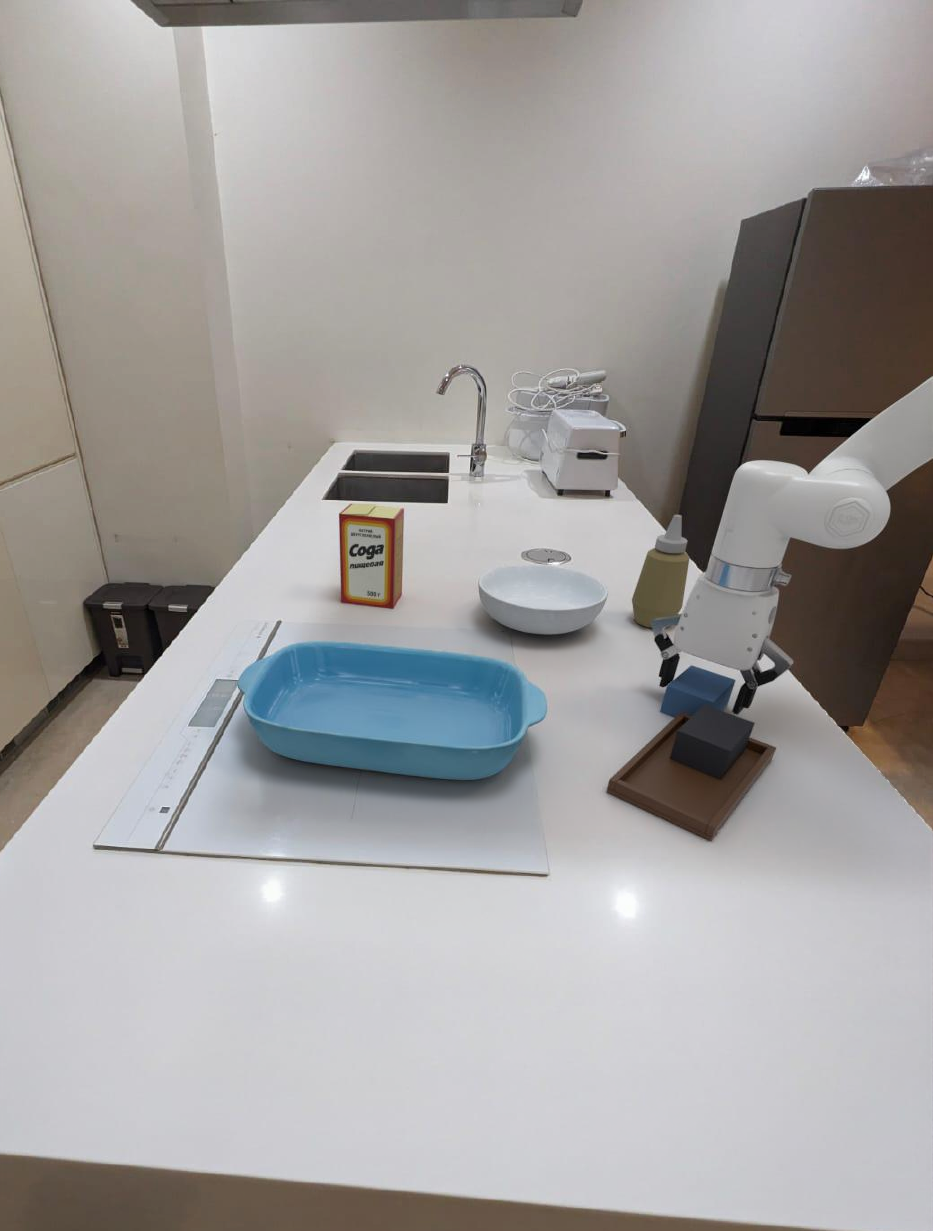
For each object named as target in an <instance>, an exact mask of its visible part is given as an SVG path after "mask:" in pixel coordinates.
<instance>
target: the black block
mask: <svg viewBox="0 0 933 1231" xmlns="http://www.w3.org/2000/svg"><path fill="white" fill-rule="evenodd" d="M755 723H756V722H754V721H752V720H748V719H745V718H743V717H740V716H738V715H735V714H732V713H728V712H726V711H723V710H722V711H720V710H718V709H715V708H712V707H709V706H707V705H703V706H702V707H701V708H700V709H699V710H698V711H697V712H696V713H695V714H694V715H693V716H692V717H691V718H690V719H689V720H688V721H687V722H686V723H685V724H684V725H683V726H682V727H681V728H680V729H679V730H678V731H677V735H676V738H675V741H674V745H673V748H672V752H671V755H670V759H672V760H674V761H677V762H679V763H681V764H684V765H686V766H689V767H691V768H693V769H696V770H698V771H701V772H703V773H705V774H708V775H710V776H713V777H715V778H717V779H720V780H721V779H722V778H723V777H724V775H725V774H726V773H727V772H728V770H729V769H730V768H731V767H732V766H733V764H734V763H735V762H736V761H737V759H738V758H739V757H740V756H741V755H742V753H743V752H744V751H745V749H746V746H747V743H748V740H749V738H751V735H752V732H753V729H754V726H755Z"/></svg>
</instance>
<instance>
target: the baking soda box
mask: <svg viewBox="0 0 933 1231" xmlns="http://www.w3.org/2000/svg"><path fill="white" fill-rule="evenodd" d="M404 524H405V508H404V507H394V506H383V505H377V503H376V504H375V503H350V504H348V505H347V506H346V507H345V508H344V509H342V511H340V512H339V513H338V525H339V526H338V528H339V529H338V530H339V531H338V532H339V534H338V535H339V568H340V570H339V572H340V603H341V604H349V605H358V606H367V607H376V608H385V609H394V608H395V607H396V605H397V603H398V602H399V601H400V599H401V597H402V595H403V566H404V564H403V562H404Z"/></svg>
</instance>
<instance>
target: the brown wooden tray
mask: <svg viewBox="0 0 933 1231" xmlns="http://www.w3.org/2000/svg"><path fill="white" fill-rule="evenodd" d="M691 717H692V716H691V715H689V714H686V713H683V712H680V713H679V714H678V715H677V716H676V717H673V719H672V720H671V721H670V722H669V723H668V724H667V725H665V726H664V727H663V728H662V729H661V730H660V731H659V732H658V733H657V734H656V735H655V736H654V737H652V739H651V740H650V741H648V743H646V744H645V745H644V746H643V747H642V748H641V749H640V750H639V751H638V752H637V753H636V754H635V755H634V756H633V757H632V758H631V759H629V761H627V762H626V763H625V764H624V765H623V766H622V767H621V768H619V770H617V771H616V773H614V775H612V776H611V777H610V778H609V781H608V784H607V788H606V793H608V794H610V795H612V796H614V797H616V798H619V799H620V800H623V801H624V802H627V803H629V804H631V805H633V806H636V807H637V808H639V809H641V810H644V811H646V812H648V813H651V814H652V815H655V816H657V817H659V818H661V819H663V820H665V821H666V822H669V823H671V824H674V825H676V826H678V827H680V828H681V829H683V830H686V831H688V832H690V833H693V835H694V834H695V835H697V836H699V837H701V838H703V839H704V840H707V841H710V842H712V840H714V838H715V837H716V835H717V834H718V832H719V831H720V830H721V828H722V827H723V826H724V824H725V823H726V822H727V820H728V819H729V818H730V816H731V815H732V814H733V812H734V811H735V809H736V808H737V807H738V806H739V804H740V803H741V802H742V800H743V799H744V798H745V796H746V795H747V794H748V793H749V791H750V790H751V788H752V787H753V786H754V784H755V783H756V782H757V780H758V779H759V777H760V776H761V775H762V773H763V772H764V771H765V769H767V767H768V766H769V764H770V763H771V761H773V758H774V755H775V753H776V751H777V746H774V745H771V744H769V743H766V742H763V741H760V740H759V739H755V738H752V737H750V738H749V740H748V743H747V746H746V749H745V751H744V752H743V753H742V755H741V756H740V757H739V758H738V759H737V761H736V762H735V763H734V764H733V766H732V767H731V768H730V769H729V770H728V772H727V773H726V774H725V775H724V777H723V778H722V779H721V780H720V779H717V778H715V777H713V776H710V775H708V774H705V773H703V772H701V771H698V770H696V769H693V768H691V767H689V766H686V765H684V764H681V763H679V762H677V761H674V760H672V759H670V755H671V752H672V748H673V745H674V741H675V738H676V735H677V731H678V730H679V729H680V728H681V727H682V726H683V725H684V724H685V723H686V722H687V721H688V720H689V719H690V718H691Z"/></svg>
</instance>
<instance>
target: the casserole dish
mask: <svg viewBox="0 0 933 1231" xmlns="http://www.w3.org/2000/svg"><path fill="white" fill-rule="evenodd" d="M237 689H238V690H239V692H240V693H242V694H243V695H244V696H243V700H242V705H243V706H242V707H243V710H244V713H245V714H246V716H247V718H248V720H249V723H250V724H251V727H252V728H253V730H254V732H255V734H256V736H257V737H258V738H259V740H260V741H261V743H262V744H263V745H264V746H265V747H267V748H268V749H269V750H270V751H272V752H274V753H275V754H278V755H280V756H283V757H285V758H289V759H293V760H297V761H301V762H305V763H313V764H319V765H327V766H333V767H339V768H349V769H357V770H365V771H373V772H381V773H388V774H395V775H403V776H412V777H421V778H429V779H440V780H456V781H457V780H458V781H477V780H478V781H479V780H483V779H486V778H489V777H492V776H494V775H497V774H498V773H500V772H501V771H503V770H504V769H505V768H506V767H507V766H508V765H509V764H510V762H511V761H512V759H513V758H514V756H515V754H516V753H517V751H518V749H519V747H520V745H521V743H522V741H523V740H524V738H525V737H526V734H527V731H528V729H529V728H530V727H533V726H534V725H537V724H539V723H541V722H542V721H543V720H545V718H546V716H547V713H548V702H547V697H546V694H545V693H544V692H543V690H542V689H541V688H540V687H539V686H536V685H535V684H534V683H532V682H530V681H529V680H528V678H527V676H526V674H525V673H524V671H522V670H521V669H520V668H519V667H517V666H516V665H514V664H512V663H510V662H507V661H504V660H502V659H497V658H493V657H489V656H482V655H475V654H468V653H460V652H451V651H442V650H432V649H423V648H411V647H402V646H393V645H392V646H390V645H380V644H372V643H371V644H370V643H362V642H361V643H360V642H349V641H347V642H346V641H333V640H308V641H300V642H295V643H291V644H289V645H286V646H284V647H281V648H280V649H279V650H277V651H275V652H274V653H273V654H270V655H268V656H266V657H263V658H261V659H259V660H256V661H254V662H252V663H251V664H249V665H248V666H247V667H246V668H245V669H244V670H243V671H242V672H241V674H240V675H239V677H238V679H237Z"/></svg>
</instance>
